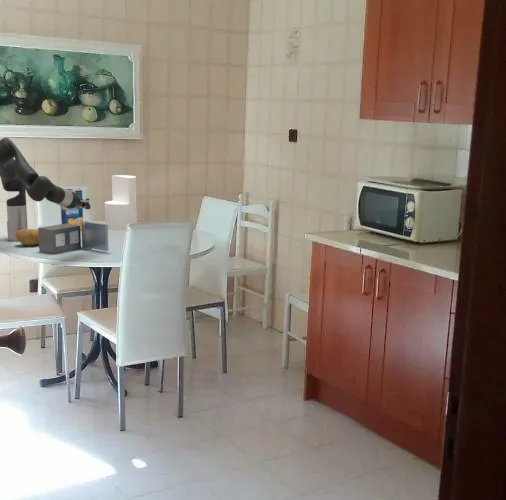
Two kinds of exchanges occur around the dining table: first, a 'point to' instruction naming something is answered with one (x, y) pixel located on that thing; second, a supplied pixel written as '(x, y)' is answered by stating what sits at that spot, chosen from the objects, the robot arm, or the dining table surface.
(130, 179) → the white l-shaped bracket
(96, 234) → the dough scraper
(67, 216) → the blue cardboard box
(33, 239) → the potato
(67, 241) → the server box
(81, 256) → the dining table surface
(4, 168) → the robot arm
